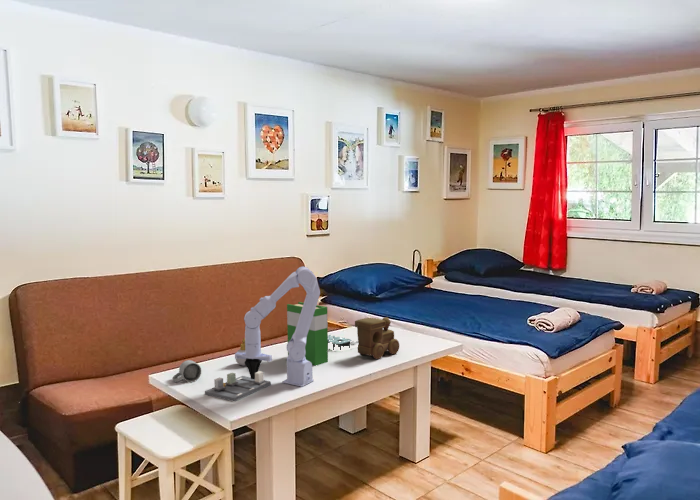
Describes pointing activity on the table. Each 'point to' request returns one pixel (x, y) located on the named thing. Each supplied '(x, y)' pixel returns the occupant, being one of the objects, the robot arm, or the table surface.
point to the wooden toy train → (375, 337)
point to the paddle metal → (218, 384)
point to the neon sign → (339, 341)
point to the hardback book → (311, 332)
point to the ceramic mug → (188, 372)
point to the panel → (238, 389)
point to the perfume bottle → (242, 350)
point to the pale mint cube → (231, 379)
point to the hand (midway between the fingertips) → (253, 378)
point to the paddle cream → (259, 378)
